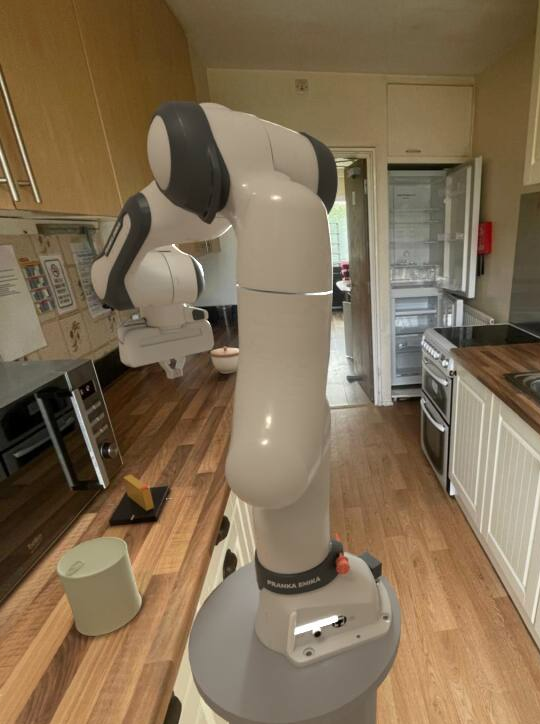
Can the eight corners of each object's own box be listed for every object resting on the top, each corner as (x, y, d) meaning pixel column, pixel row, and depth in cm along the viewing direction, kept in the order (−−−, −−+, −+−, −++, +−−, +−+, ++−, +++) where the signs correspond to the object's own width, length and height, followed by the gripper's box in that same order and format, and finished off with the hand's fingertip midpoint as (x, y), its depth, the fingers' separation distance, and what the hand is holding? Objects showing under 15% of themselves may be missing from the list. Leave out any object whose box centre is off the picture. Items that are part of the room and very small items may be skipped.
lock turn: (127, 496, 97) (122, 476, 95) (135, 493, 98) (130, 473, 96) (146, 511, 92) (142, 490, 90) (154, 507, 93) (149, 487, 91)
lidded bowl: (207, 371, 190) (203, 346, 185) (232, 365, 199) (229, 342, 194) (222, 377, 182) (219, 352, 178) (248, 371, 191) (245, 346, 187)
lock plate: (119, 494, 100) (117, 488, 99) (179, 488, 103) (178, 482, 102) (98, 529, 88) (96, 523, 88) (167, 522, 91) (165, 515, 90)
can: (61, 628, 66) (38, 568, 62) (110, 585, 75) (94, 529, 70) (108, 643, 64) (89, 581, 60) (154, 597, 72) (140, 540, 68)
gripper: (122, 324, 81) (137, 392, 86) (214, 310, 97) (221, 369, 102) (105, 320, 84) (120, 386, 89) (196, 307, 100) (204, 364, 105)
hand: (175, 377), depth 96 cm, fingers closed
